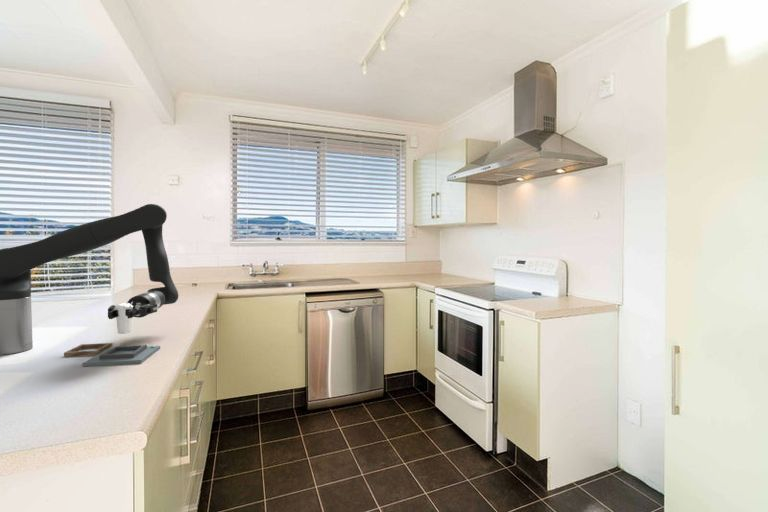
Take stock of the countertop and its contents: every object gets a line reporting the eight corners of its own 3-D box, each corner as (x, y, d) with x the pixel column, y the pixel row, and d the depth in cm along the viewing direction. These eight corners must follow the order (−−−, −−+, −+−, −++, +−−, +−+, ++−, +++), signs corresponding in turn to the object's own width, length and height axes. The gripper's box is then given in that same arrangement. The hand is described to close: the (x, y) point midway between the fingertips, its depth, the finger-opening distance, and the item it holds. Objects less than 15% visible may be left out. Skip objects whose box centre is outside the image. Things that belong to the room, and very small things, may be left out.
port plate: (82, 366, 101) (82, 359, 101) (108, 351, 115) (108, 344, 115) (141, 363, 104) (141, 355, 104) (160, 348, 118) (160, 342, 118)
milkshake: (125, 335, 107) (125, 302, 106) (111, 333, 108) (110, 301, 107) (138, 331, 111) (138, 300, 110) (124, 329, 112) (124, 298, 111)
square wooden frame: (63, 356, 109) (63, 352, 109) (81, 347, 118) (81, 344, 118) (97, 355, 111) (97, 351, 111) (112, 346, 120) (112, 342, 120)
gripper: (120, 294, 121) (91, 303, 104) (166, 293, 124) (145, 302, 108) (121, 315, 122) (92, 328, 105) (167, 314, 125) (146, 326, 108)
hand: (119, 315), depth 106 cm, fingers closed on milkshake, 4 cm apart
